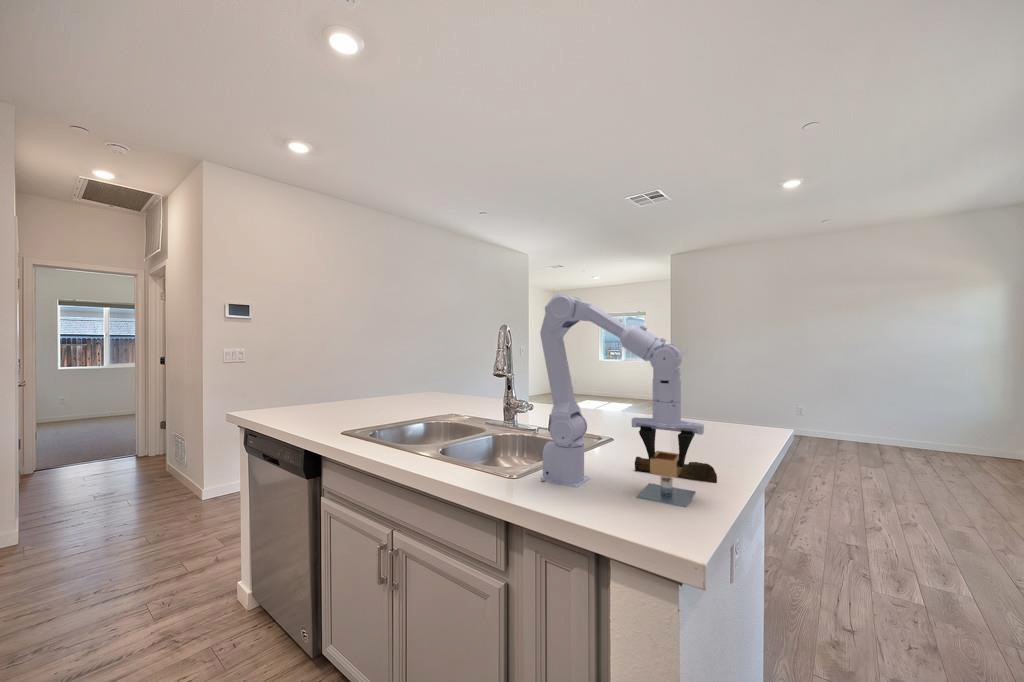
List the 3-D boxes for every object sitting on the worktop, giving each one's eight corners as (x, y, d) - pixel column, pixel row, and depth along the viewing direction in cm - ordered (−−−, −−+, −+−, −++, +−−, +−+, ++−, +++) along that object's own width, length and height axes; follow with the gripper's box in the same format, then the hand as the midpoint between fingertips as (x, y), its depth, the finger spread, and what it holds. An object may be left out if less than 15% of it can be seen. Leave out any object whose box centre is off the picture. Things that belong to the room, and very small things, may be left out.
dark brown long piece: (633, 473, 109) (633, 455, 109) (638, 469, 112) (638, 451, 112) (714, 488, 98) (714, 468, 98) (717, 483, 102) (717, 464, 101)
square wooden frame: (650, 473, 92) (649, 458, 91) (657, 464, 96) (656, 450, 96) (676, 477, 89) (676, 462, 88) (682, 468, 93) (682, 454, 93)
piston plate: (636, 499, 91) (636, 479, 91) (649, 485, 99) (649, 467, 99) (686, 509, 85) (686, 488, 85) (695, 494, 94) (695, 475, 94)
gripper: (627, 400, 93) (627, 463, 93) (699, 405, 85) (699, 474, 85) (636, 396, 99) (637, 455, 99) (705, 401, 91) (705, 465, 91)
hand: (666, 464), depth 92 cm, fingers closed on square wooden frame, 5 cm apart
